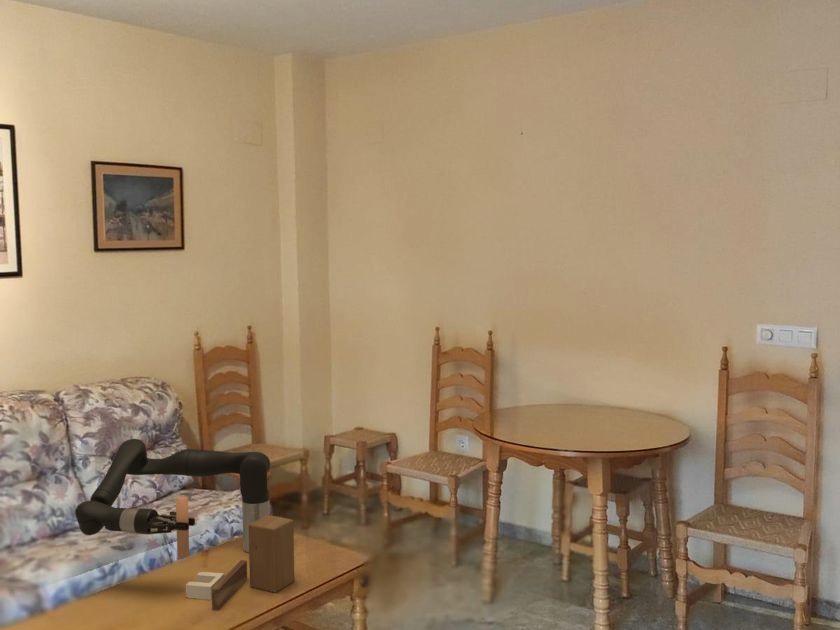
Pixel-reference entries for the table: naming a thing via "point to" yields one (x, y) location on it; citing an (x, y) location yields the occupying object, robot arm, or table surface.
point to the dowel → (182, 534)
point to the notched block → (203, 585)
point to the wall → (229, 585)
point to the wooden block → (271, 553)
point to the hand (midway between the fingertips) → (191, 524)
